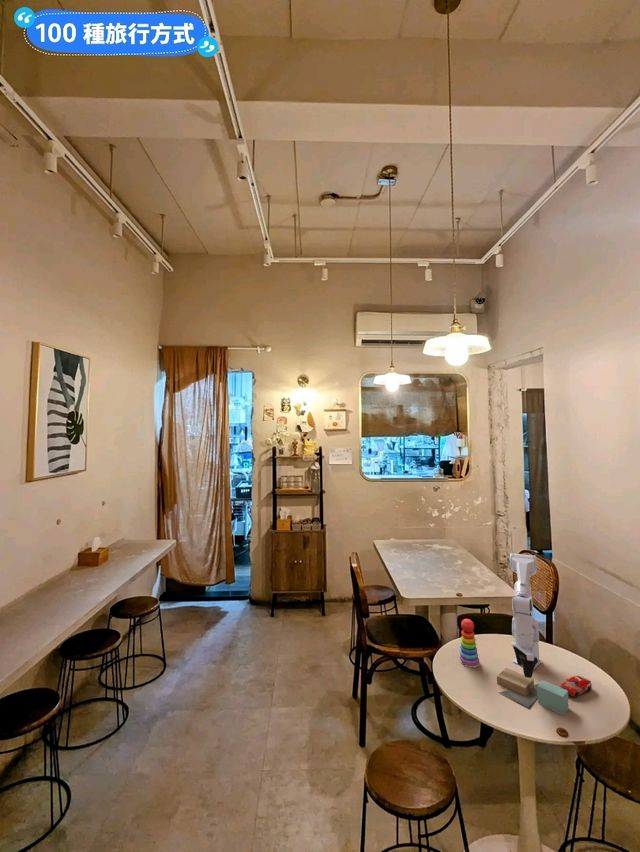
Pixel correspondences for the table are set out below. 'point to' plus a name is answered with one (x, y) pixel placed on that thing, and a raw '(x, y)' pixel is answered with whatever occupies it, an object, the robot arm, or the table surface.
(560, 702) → the teal brick
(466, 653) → the stacking toy
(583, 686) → the race car
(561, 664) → the table surface
